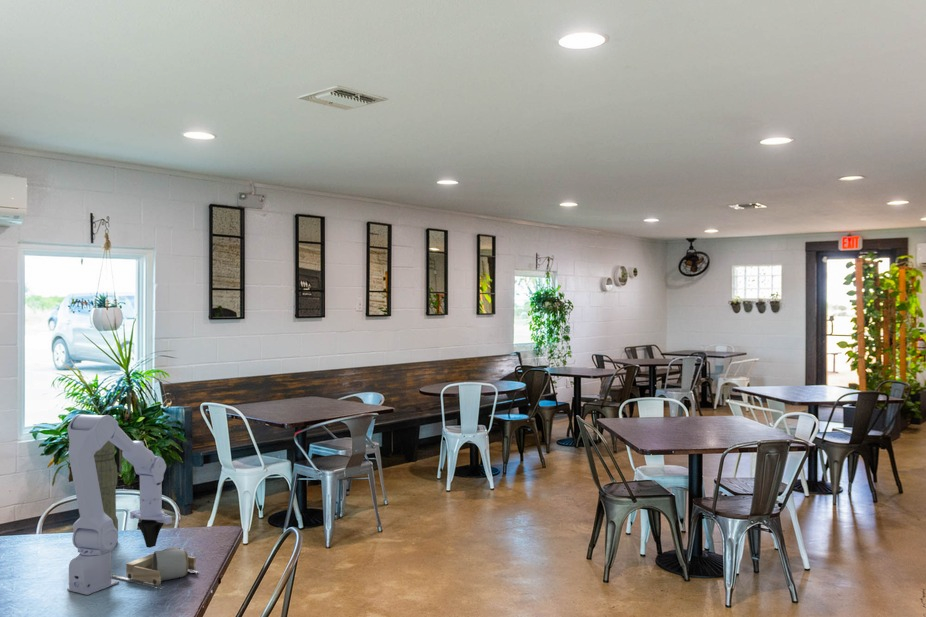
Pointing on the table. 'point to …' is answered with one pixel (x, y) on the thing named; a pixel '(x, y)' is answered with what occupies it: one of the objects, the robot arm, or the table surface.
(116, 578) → the track
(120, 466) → the thermos
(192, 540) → the table surface
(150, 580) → the tan wooden bracket
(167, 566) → the ceramic mug
